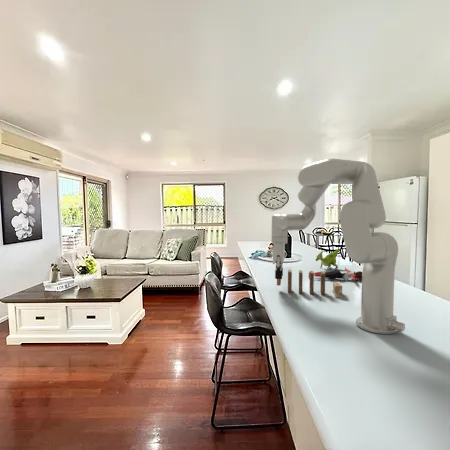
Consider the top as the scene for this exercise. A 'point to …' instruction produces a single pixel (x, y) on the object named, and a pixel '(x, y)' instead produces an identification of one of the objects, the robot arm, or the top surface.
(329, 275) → the toy
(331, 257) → the toy
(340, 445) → the top surface
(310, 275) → the domino
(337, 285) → the end block
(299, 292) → the domino
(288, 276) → the domino
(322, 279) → the domino
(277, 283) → the domino
